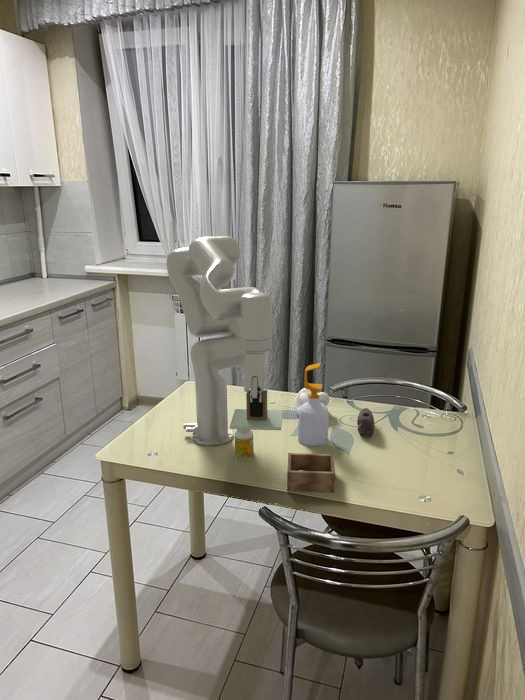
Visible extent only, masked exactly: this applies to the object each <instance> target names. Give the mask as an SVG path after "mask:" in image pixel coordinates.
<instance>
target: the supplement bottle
mask: <svg viewBox="0 0 525 700" xmlns="http://www.w3.org/2000/svg"><path fill="white" fill-rule="evenodd" d="M234 454H235V455H234V456H235V457H237V458H239V459H249V458H251V457H252V456H253V455H254V431H253V430H247V429H236V431H235V432H234Z"/></svg>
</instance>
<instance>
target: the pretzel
mask: <svg viewBox="0 0 525 700" xmlns="http://www.w3.org/2000/svg"><path fill="white" fill-rule="evenodd" d="M309 394H311V391H310V389H306V388H305V387H303V388H302V389H301V390H299V392H298V393H297V394H296V397H295V398H294V402H293V408H294V412H295V414H296V415H297V416H299V408H300V406H301V405H303V404H304V403H306V402H308V396H309ZM317 394H319V402H320V403H323V404H324V405H325V406H326V407H327V406H328V405H329V402H330V396H329V395H328V393H327V392H323V391H321V392H317Z"/></svg>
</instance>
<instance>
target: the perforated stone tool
mask: <svg viewBox="0 0 525 700" xmlns="http://www.w3.org/2000/svg"><path fill="white" fill-rule="evenodd" d="M356 424H357V432H358V434H359V436H360V437H363V438H368V439H369V438H372V437H373V436H374V433H375V419H374V415H373V413H372V410H370V409H369V408H367V407H364V408H362V409H361V410H360V411H359V413H358V415H357V423H356Z"/></svg>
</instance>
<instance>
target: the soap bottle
mask: <svg viewBox="0 0 525 700" xmlns="http://www.w3.org/2000/svg"><path fill="white" fill-rule="evenodd" d="M320 368H321V362H318V363H313V364H310V365H308V366H306V368H305V370H304V374H303V375H304V376H303V388H306V389H310V391H311V394H309V396H308V402H306V403H304V404H303V405H301V406H300V408H299V415H297V417H298V420H297V421H298V425H297V426H298V430H297V431H298V432H297V436H298V437H297V439H298V442H299V443H301V444H302V445H304V446H308V447H319V446H324V445H325V444H327V442H328V441H329V416H330V415H329V414H330V413H329V412H330V411H329V409H328V407H327V406H325V405H324V404H323V403H320V402H319V394H317V393H318V392H319V391H321V390H322V389H323V388H322V387H323V384H321V383H309V382H308V372H310V371H313V370H318V369H320Z"/></svg>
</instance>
